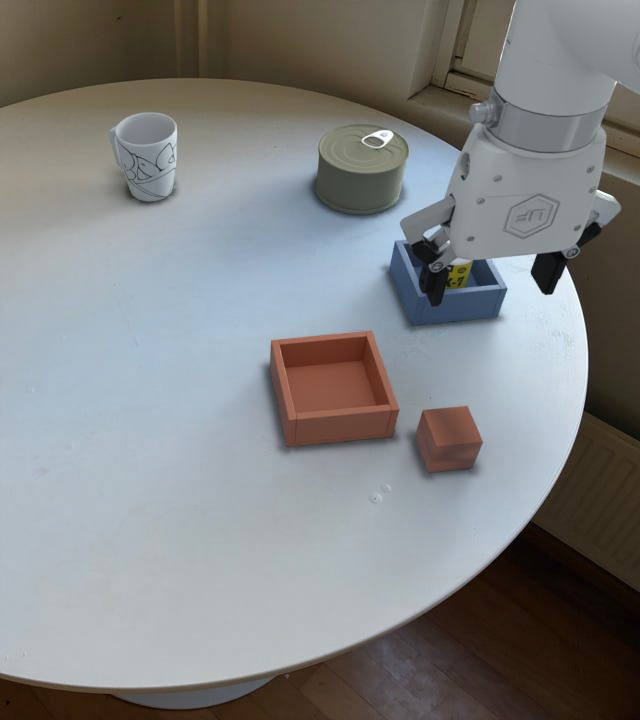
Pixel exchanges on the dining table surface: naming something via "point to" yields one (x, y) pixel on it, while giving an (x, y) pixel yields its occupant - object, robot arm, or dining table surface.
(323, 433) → the terracotta bin
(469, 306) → the blue bin
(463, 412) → the block
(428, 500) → the dining table surface
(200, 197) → the dining table surface
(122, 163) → the mug
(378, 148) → the can
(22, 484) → the dining table surface
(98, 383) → the dining table surface
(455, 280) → the supplement bottle
